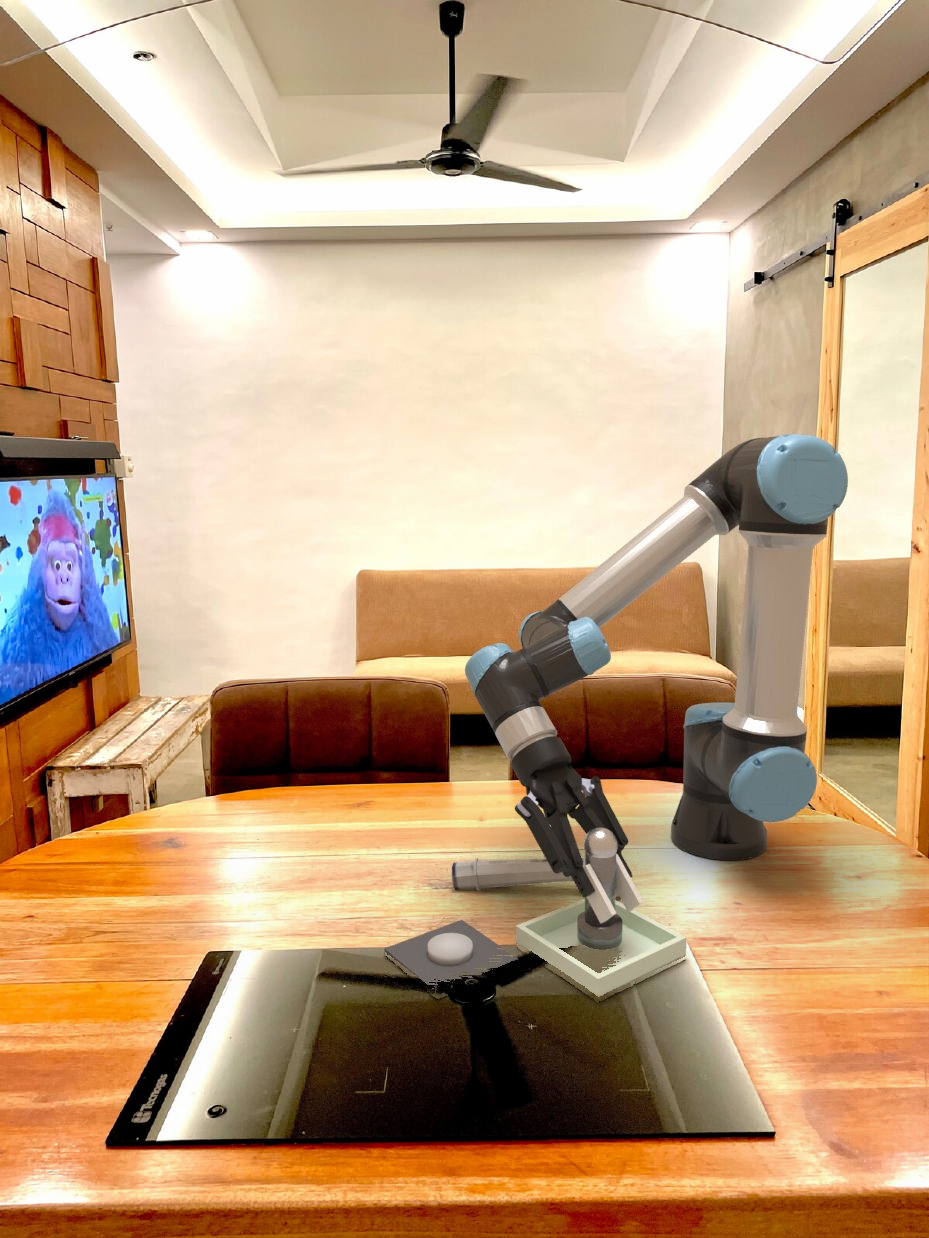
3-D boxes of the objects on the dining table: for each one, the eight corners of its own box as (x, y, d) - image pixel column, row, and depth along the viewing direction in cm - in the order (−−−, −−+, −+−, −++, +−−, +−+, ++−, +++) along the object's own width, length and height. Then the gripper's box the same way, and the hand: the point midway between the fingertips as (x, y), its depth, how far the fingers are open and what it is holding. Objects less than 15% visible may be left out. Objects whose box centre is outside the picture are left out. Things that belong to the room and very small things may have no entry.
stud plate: (461, 926, 118) (461, 911, 117) (517, 965, 108) (517, 949, 108) (384, 955, 111) (384, 939, 110) (437, 1000, 101) (436, 982, 101)
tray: (600, 912, 121) (600, 892, 120) (685, 959, 109) (686, 937, 108) (516, 947, 112) (515, 925, 112) (598, 1002, 100) (598, 978, 100)
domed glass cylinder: (600, 921, 114) (601, 816, 112) (631, 939, 109) (633, 830, 107) (568, 935, 111) (568, 827, 108) (599, 954, 106) (600, 841, 104)
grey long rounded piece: (454, 855, 131) (622, 840, 127) (461, 896, 132) (628, 883, 128) (449, 870, 126) (624, 855, 122) (456, 913, 127) (629, 900, 123)
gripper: (568, 750, 124) (653, 903, 114) (471, 775, 114) (554, 946, 104) (594, 722, 119) (686, 880, 108) (495, 746, 109) (586, 922, 99)
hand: (622, 912), depth 106 cm, fingers open, 4 cm apart
